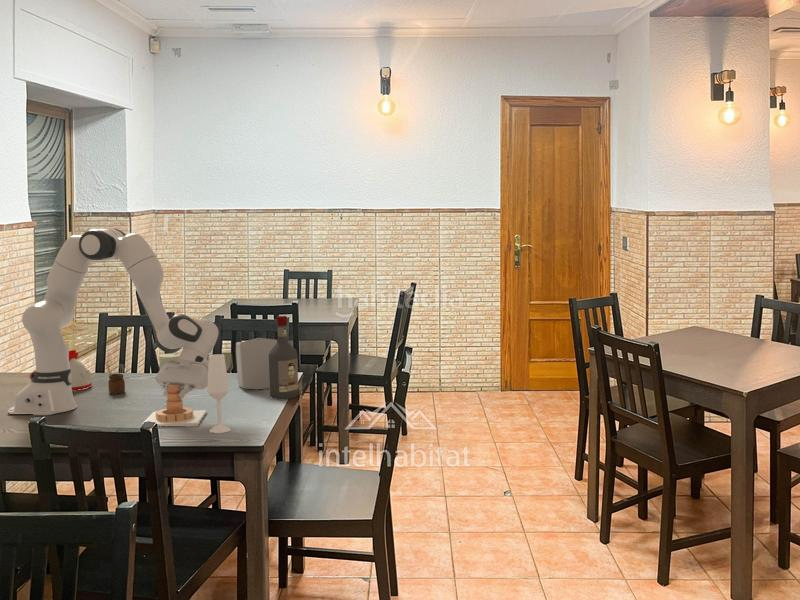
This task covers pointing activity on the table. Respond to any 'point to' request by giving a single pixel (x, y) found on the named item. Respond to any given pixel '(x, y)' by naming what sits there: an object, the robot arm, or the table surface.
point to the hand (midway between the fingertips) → (172, 396)
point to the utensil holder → (116, 382)
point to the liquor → (283, 365)
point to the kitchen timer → (78, 372)
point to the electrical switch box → (254, 363)
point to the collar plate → (179, 423)
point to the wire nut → (174, 399)
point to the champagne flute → (218, 386)
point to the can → (168, 358)
